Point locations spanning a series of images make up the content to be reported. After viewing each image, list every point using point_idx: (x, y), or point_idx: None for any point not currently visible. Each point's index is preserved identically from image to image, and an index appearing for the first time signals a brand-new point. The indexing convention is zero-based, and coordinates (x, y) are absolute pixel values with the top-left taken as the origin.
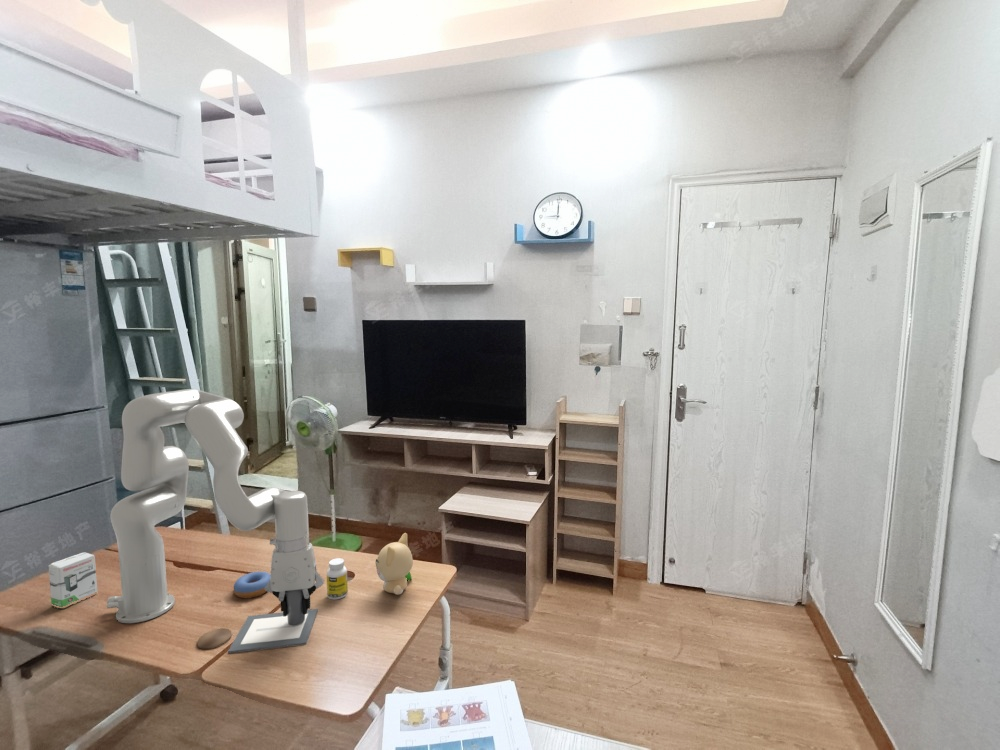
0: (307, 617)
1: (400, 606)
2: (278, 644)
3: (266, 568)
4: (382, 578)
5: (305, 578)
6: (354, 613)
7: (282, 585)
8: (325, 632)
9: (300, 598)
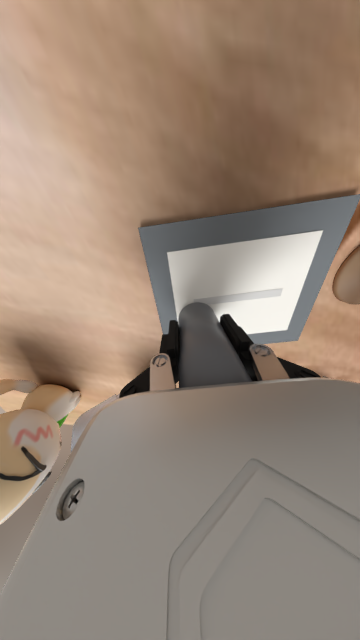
0: None
1: (12, 355)
2: (215, 221)
3: None
4: (21, 418)
5: (100, 533)
6: (90, 340)
7: (332, 431)
8: (115, 281)
9: (184, 354)
